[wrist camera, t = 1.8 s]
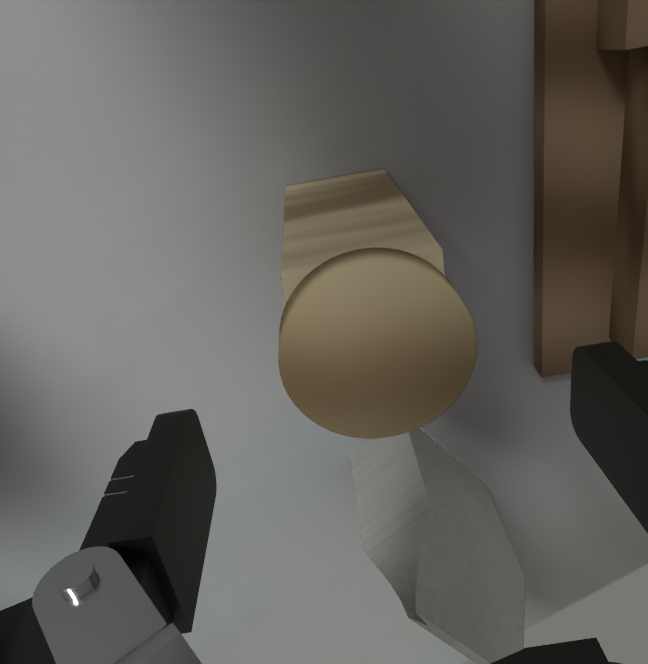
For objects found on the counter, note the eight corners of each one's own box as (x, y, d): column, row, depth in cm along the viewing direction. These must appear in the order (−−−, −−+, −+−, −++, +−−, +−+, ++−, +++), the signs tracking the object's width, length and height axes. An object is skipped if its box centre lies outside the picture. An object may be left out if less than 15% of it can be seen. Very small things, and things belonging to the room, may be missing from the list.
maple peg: (273, 177, 23) (258, 285, 13) (392, 156, 23) (472, 247, 13) (296, 287, 25) (298, 452, 15) (405, 268, 25) (480, 421, 15)
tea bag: (403, 415, 28) (454, 587, 19) (486, 486, 31) (564, 667, 22) (350, 458, 29) (375, 639, 20) (433, 523, 32) (488, 710, 23)
